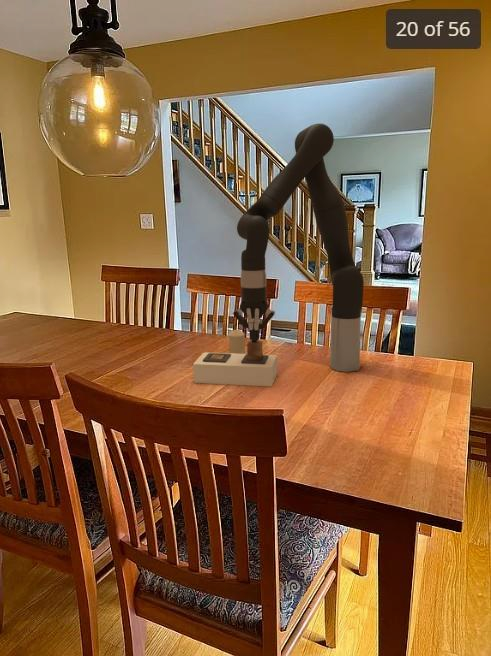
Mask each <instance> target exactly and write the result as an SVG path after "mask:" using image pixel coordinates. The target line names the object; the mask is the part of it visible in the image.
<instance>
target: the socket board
mask: <svg viewBox="0 0 491 656" xmlns="http://www.w3.org/2000/svg"><path fill="white" fill-rule="evenodd" d="M212 355H225V357H224V358H223V359H210V357H211V356H212ZM192 370H193V371H192V372H193V383H195V384H211V385H212V384H213V385H229V386H230V385H232V386H235V385H236V386H251V387H252V386H253V387H273V385H274V382H275V380H276V377H277V375H278V354H263V359H262V361H249V360H247V353H245V354H236V353H229V352H203V353H202V354H200V356H199V357H198V358H197V359H196V360H195V361H194V362H193V364H192Z"/></svg>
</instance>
